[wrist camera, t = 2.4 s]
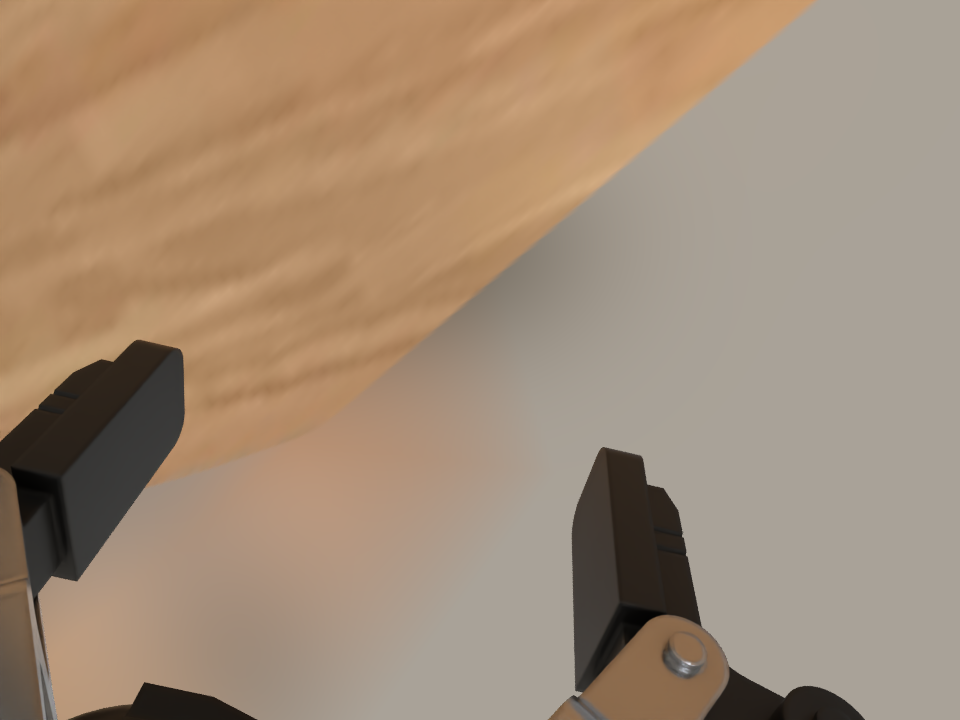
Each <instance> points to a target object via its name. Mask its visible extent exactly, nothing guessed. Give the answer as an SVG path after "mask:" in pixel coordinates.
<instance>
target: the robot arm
mask: <svg viewBox="0 0 960 720" xmlns="http://www.w3.org/2000/svg"><path fill="white" fill-rule="evenodd" d="M184 414H185V409H184V368H183V355H182V352H181V350H180V349H178V348H173V347H169V346H164V345H160V344H156V343H151V342H147V341H143V340H136V341H134V342H133V343H132V344H131V345H130V346H129V347H128V348H127V349H126V350H125V351H124V352H123V353H122V354H121V355H120V356H119V357H118V358H117V359H116V360H115V361H114V362H111V361H107V360H102V359H101V360H99V361H97V362H94V363H92V364H90V365H88V366H86V367H84V368H82V369H80V370H77V371H75V372H73V373H72V374H71V375H70V376H69V377H68V378H67V379H66V380H65V381H64V382H63V383H62V384H61V385H60V386H59V387H58V388H56V389H55V390H54V394H50V395H49V396H48V397H47V398H46V399H45V400H44V401H43V402H42V403H41V404H40V405H39V408H38V409H34V410H33V411H32V412H31V413H30V414H29V415H28V416H27V417H26V418H25V419H24V420H23V421H22V422H21V423H20V424H19V425H18V426H16V427H15V428H14V429H13V430H12V431H11V432H10V433H9V434H8V435H7V436H6V437H5V438H4V439H3V440H2V441H1V442H0V720H57V714H56V709H55V703H54V697H53V690H52V683H51V676H50V669H49V662H48V655H47V647H46V641H45V633H44V627H43V620H42V612H41V605H40V599H39V594H38V593H39V592H40V590H41V589H42V588H43V586H44V585H45V584H46V582H47V581H48V580H49V578H50V577H51V576H54V577H59V578H63V579H68V580H73V581H78V579H79V578H80V577H81V575H82V574H83V572H84V571H85V570H86V568H87V567H88V566H89V564H90V563H91V561H92V560H93V558H94V557H95V556H96V554H97V553H98V552H99V550H100V549H101V547H102V546H103V545H104V543H105V542H106V540H107V539H108V538H109V536H110V535H111V533H112V532H113V531H114V529H115V528H116V526H117V525H118V524H119V522H120V521H121V520H122V518H123V517H124V515H125V514H126V513H127V511H128V509H129V508H130V507H131V506H132V504H133V503H134V501H135V500H136V499H137V497H138V496H139V494H140V493H141V492H142V490H143V489H144V488H145V486H146V485H147V483H148V482H149V481H150V479H151V478H152V476H153V475H154V474H155V472H156V471H157V469H158V468H159V467H160V465H161V464H162V462H163V461H164V460H165V458H166V457H167V455H168V454H169V453H170V451H171V450H172V449H173V447H174V446H175V444H176V442H177V440H178V438H179V436H180V433H181V430H182V427H183V422H184ZM682 534H683V533H682V527H681V523H680V517H679V512H678V510H677V508H676V507H675V505H674V504H673V502H672V501H671V499H670V498H669V496H668V495H667V493H666V492H665V490H664V488H660V487H655V486H651V485H647V481H646V476H645V469H644V462H643V458H642V457H641V456H640V455H635V454H631V453H627V452H623V451H618V450H614V449H609V448H605V447H603V448H601V449H600V451H599V453H598V455H597V457H596V460H595V462H594V465H593V467H592V470H591V472H590V475H589V477H588V479H587V482H586V484H585V487H584V489H583V492H582V494H581V497H580V499H579V502H578V504H577V507H576V511H575V515H574V520H573V527H572V560H573V561H572V562H573V563H572V564H573V605H574V606H573V607H574V608H573V609H574V652H575V690H576V691H579V692H583V693H582V694H581V695H580V696H579V697H578V698H577V697H576V696H574V695H573V696H571V697H570V698H569V699H567V700H566V701H565V702H564V703H563V704H562V705H561V706H560V707H559V708H558V710H557V711H556V712H555V713H554V714H553V715H552V716H551V718H549V719H548V720H865V719H864V718H863V717H862V716H861V715H860V714H859V712H857V711H856V710H855V709H854V708H853V707H852V706H851V705H850V704H848V703H847V702H846V701H845V700H843V699H842V698H840V697H839V696H837V695H835V694H834V693H831V692H829V691H827V690H825V689H822V688H818V687H813V686H803V687H798V688H796V689H793V690H792V691H791V692H790V693H789V694H788V695H787V696H786V697H785V698H783V697H782V696H780V695H777V694H776V693H774V692H772V691H770V690H768V689H766V688H764V687H763V686H761V685H759V684H757V683H755V682H753V681H751V680H749V679H747V678H745V677H744V676H742V675H740V674H739V673H737V672H736V671H734V670H733V669H732V668H730V667H729V665H728V661H727V658H726V656H725V654H724V652H723V650H722V648H721V647H720V645H719V644H718V642H717V641H716V640H715V639H714V638H713V637H712V636H711V634H709V633H708V632H707V631H706V630H705V629H703V628H702V626H701V622H700V616H699V611H698V606H697V602H696V596H695V592H694V587H693V582H692V577H691V572H690V567H689V562H688V557H687V556H686V547H685V542H684V538H682ZM68 720H257V719H254V718H253V717H251V716H249V715H247V714H245V713H243V712H241V711H239V710H237V709H236V708H234V707H232V706H230V705H228V704H226V703H224V702H222V701H220V700H218V699H217V698H215V697H211V696H207V695H202V694H197V693H192V692H188V691H183V690H178V689H173V688H169V687H164V686H159V685H155V684H150V683H145V682H144V684H143V686H142V687H141V689H140V691H139V693H138V695H137V697H136V699H135V701H134V702H133V704H131V705H121V706H114V707H108V708H103V709H99V710H96V711H92V712H88V713H85V714H82V715H79V716H76V717H74V718H71V719H68Z"/></svg>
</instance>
